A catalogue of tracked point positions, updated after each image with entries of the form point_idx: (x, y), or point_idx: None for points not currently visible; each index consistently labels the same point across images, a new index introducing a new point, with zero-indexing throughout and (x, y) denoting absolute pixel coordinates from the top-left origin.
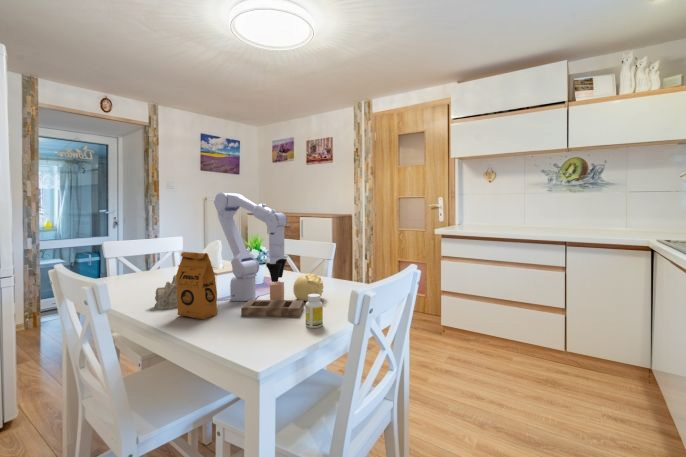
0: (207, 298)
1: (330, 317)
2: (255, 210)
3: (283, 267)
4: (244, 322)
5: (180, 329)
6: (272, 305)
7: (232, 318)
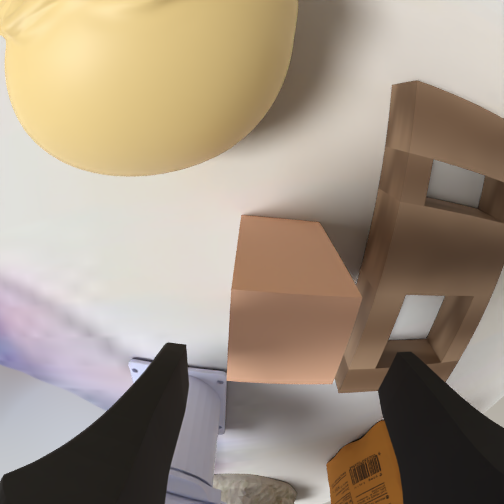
0: None
1: (499, 7)
2: None
3: (142, 440)
4: (489, 328)
5: None
6: (473, 274)
7: None
